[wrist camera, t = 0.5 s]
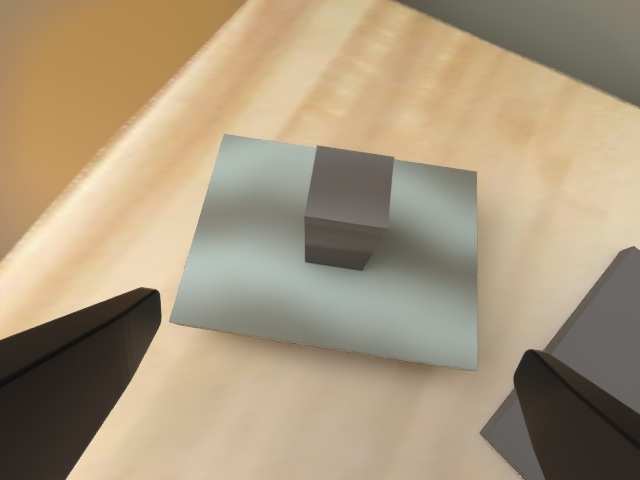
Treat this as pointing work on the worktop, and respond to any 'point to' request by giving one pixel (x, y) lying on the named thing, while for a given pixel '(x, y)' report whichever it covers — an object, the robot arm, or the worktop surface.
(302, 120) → the worktop surface
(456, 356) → the lid
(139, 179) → the worktop surface
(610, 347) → the rubber mat
